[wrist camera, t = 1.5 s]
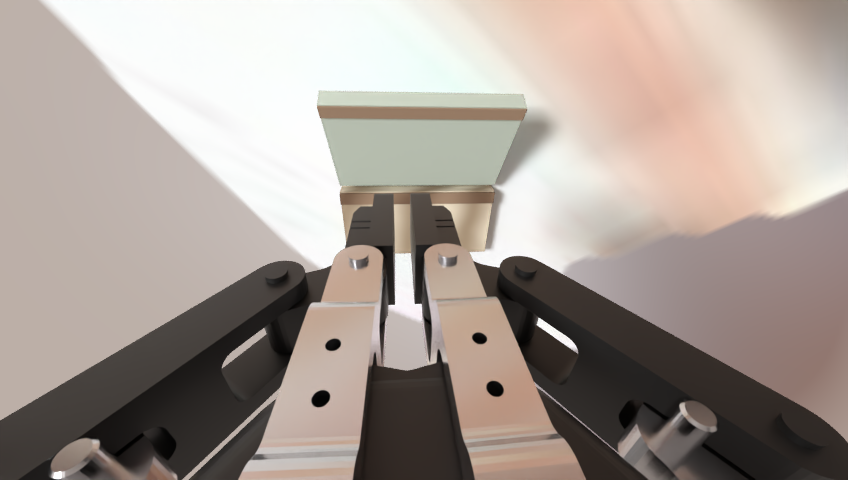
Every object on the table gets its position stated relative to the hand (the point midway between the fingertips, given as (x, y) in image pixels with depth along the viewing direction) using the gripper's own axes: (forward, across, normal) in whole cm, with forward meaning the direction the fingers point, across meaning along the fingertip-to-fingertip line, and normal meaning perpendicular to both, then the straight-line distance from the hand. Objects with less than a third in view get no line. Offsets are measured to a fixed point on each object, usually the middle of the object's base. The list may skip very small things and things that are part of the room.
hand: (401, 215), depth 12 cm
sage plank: (+18, -2, +2) cm, 19 cm away
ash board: (+21, -2, +12) cm, 24 cm away
